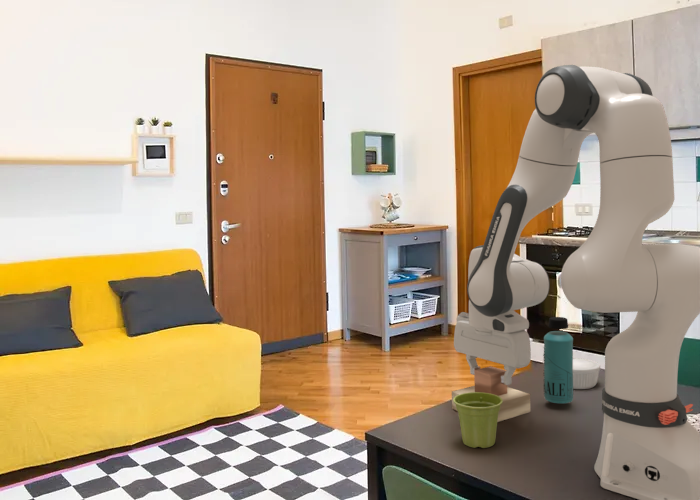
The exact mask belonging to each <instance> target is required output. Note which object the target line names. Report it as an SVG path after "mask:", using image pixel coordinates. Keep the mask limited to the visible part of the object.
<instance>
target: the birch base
mask: <svg viewBox="0 0 700 500" xmlns="http://www.w3.org/2000/svg"><path fill="white" fill-rule="evenodd" d="M470 392H475V385H472V386H471V385H470V386H467V387H464V388H460V389H456V390H453V391H452V390H451V409H452V410H453V411H456V412H458V410H457V409H456V404H455V403H454V402H453V398H454V397H455V396H457V395H459V394H463V393H470ZM499 397H501V398H502V400H503V403H502V404H501V405H500V410H499V412H498V420H497V423H499V422H502V421H504V420H508V419H512V418H515V417H519V416H522V415H525V414H528V413H531V394H530V393H528V392H525V391H522V390H518V389H515V388H512V387H509V386H507V394H503V395H499Z"/></svg>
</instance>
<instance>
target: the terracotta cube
mask: <svg viewBox="0 0 700 500" xmlns="http://www.w3.org/2000/svg"><path fill="white" fill-rule="evenodd" d="M505 372H506V370H504V369H501V368H499V367H498V368H497V367H494V366H491V365H490V366H487V367H482V368H481V367H480V369H477V370H474V375H473V376H474V377H473V378H474V386H475V392H482V393H489V394H494V395H497V396H499V395H503V394H507V387H508V385H504V384H502V383H501V376H503V375H504V374H505Z"/></svg>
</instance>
